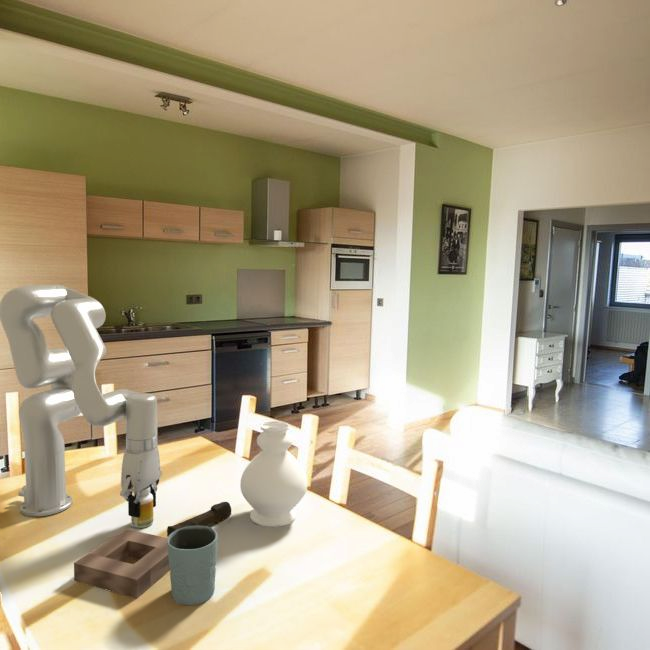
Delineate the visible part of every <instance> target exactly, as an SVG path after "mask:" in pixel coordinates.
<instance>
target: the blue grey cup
mask: <svg viewBox="0 0 650 650" xmlns="http://www.w3.org/2000/svg"><path fill="white" fill-rule="evenodd" d="M166 538H167V548H168V558H169V569H170V571H169V577H170V585H171V586H170V588H171V591H170V592H171V597H173V598H172V599H173V601H174V602H175V603H177V602H178V603H177V604H179V603H180V605H183V604H184V605H183V606H196V604H197V605H200V604H203V603H206V602H207V601H209V600H210V599H212V597H213V595H214V594H215V589H216V583H215V582H216V572H217V571H216V570H217V568H216V565H217V557H218V555H217V553H218V550H217V549H218V538H219V536H218V532H217V531H216V530H215V529H213V528H212V527H209V526H188V527H184V528H181V529H178V530H176V531H174V532H172V533H171V534H170V535H169V536H168V537H166Z"/></svg>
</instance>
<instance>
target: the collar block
mask: <svg viewBox="0 0 650 650" xmlns="http://www.w3.org/2000/svg"><path fill="white" fill-rule="evenodd" d="M167 538H168V537H163V536H159V535H155V534H152V533H147V532H144V531H138V530H133V529H129V528H125V529H123V530H121V531H120V532H119V533H117V534H115V535H114V536H112V537H111V538H110V539H108V540H107V541H105V542H103V543H102V544H101V545H99V546H98V547H96V548H94V549H93V550H92V551H90V552H88V553H87V554H85V555H83V556H82V557H81V558H79V559H78V560H76V561H75V562H73V578H74V582H76V581H77V582H76V583H80V584H83V583H84V585H87V584H88V585H87V586H91V587H94V586H95V587H94V588H98V589H101V588H102V590H105V589H107V590H106V591H108V590H110V591H109V592H112V591H113V592H112V593H116V594H120V595H123V596H126V597H130V598H135V599H138V598H140V597H141V596H142V595H144V593H145V592H146V591H148V590H149V589H150V588H151V587H152V586H153V585H155V584H156V583H157V582H158V581H159V580H160V579H162V578H163V577H164V576H165V575H166V574H168V572H170V569H169V558H168V548H167ZM128 558H131V559H135V560H138V561H136V562H134V563H130V562H125V561H126V560H127V559H128Z"/></svg>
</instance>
